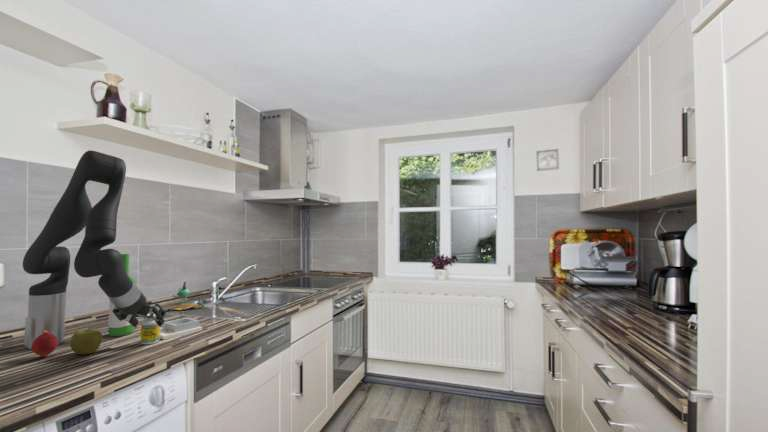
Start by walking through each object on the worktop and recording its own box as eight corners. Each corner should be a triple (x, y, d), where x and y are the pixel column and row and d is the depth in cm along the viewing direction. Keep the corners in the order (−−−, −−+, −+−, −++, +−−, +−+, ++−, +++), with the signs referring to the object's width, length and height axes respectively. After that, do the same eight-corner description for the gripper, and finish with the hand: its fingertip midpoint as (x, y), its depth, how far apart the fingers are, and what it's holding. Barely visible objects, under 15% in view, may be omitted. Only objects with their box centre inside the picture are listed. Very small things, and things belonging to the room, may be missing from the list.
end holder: (160, 340, 121) (161, 329, 121) (144, 335, 127) (145, 325, 127) (202, 330, 134) (202, 320, 134) (185, 325, 140) (186, 316, 140)
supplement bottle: (159, 339, 123) (160, 312, 123) (159, 343, 118) (160, 314, 119) (140, 341, 120) (141, 313, 120) (140, 345, 115) (141, 317, 116)
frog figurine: (200, 310, 167) (197, 280, 168) (161, 316, 165) (158, 285, 166) (208, 306, 177) (205, 278, 177) (171, 311, 175) (169, 282, 175)
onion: (55, 352, 109) (57, 326, 109) (59, 356, 105) (60, 330, 106) (29, 357, 104) (31, 330, 105) (32, 361, 101) (33, 334, 101)
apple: (94, 347, 113) (95, 326, 113) (106, 351, 109) (107, 329, 110) (64, 355, 106) (66, 331, 107) (77, 359, 103) (78, 335, 103)
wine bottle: (137, 333, 130) (140, 253, 131) (112, 338, 123) (116, 255, 125) (129, 329, 134) (132, 253, 135) (104, 334, 128) (108, 254, 129)
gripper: (155, 286, 110) (174, 314, 121) (110, 287, 110) (133, 314, 121) (144, 306, 105) (165, 333, 116) (96, 307, 104) (121, 334, 115)
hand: (148, 324), depth 118 cm, fingers open, 8 cm apart
